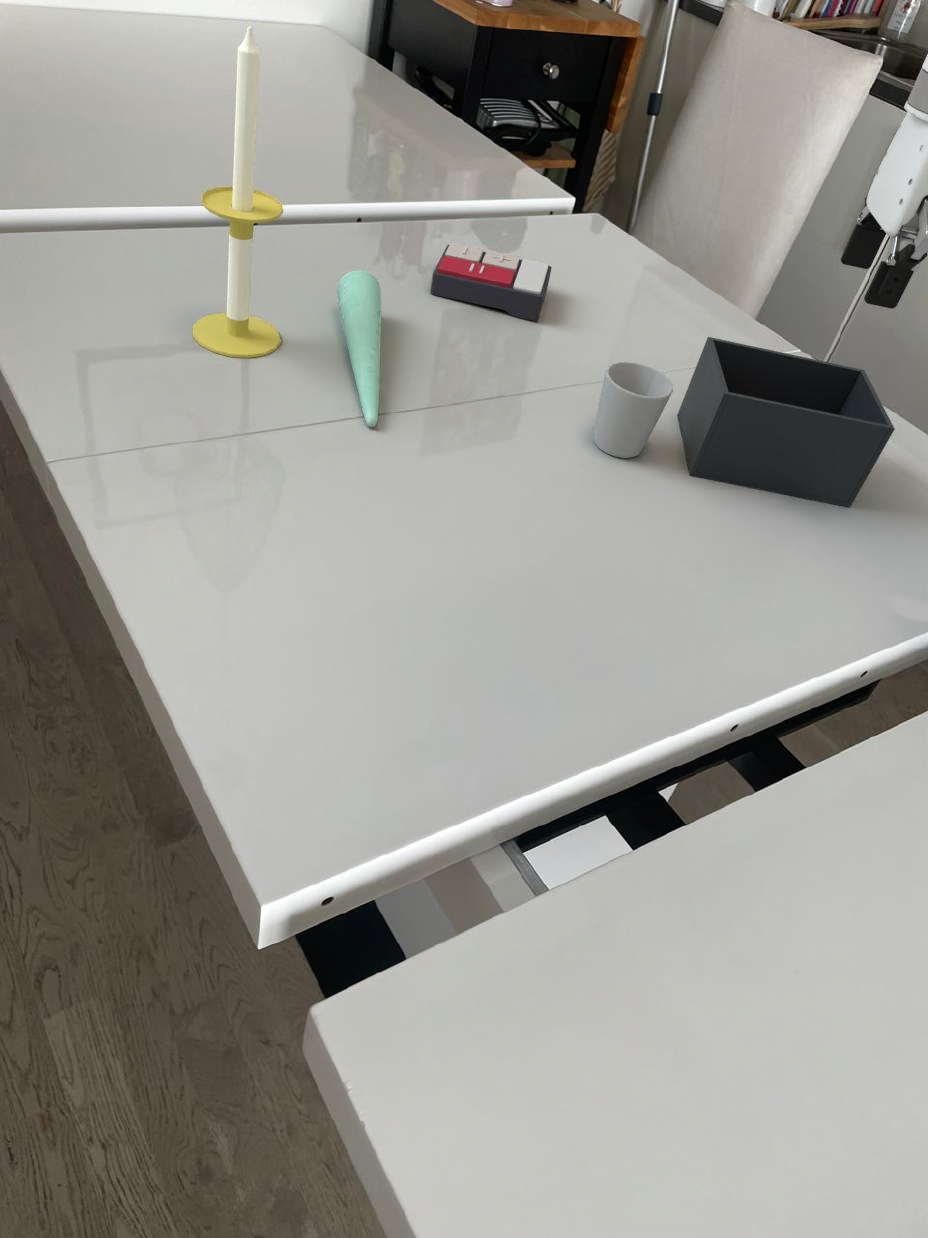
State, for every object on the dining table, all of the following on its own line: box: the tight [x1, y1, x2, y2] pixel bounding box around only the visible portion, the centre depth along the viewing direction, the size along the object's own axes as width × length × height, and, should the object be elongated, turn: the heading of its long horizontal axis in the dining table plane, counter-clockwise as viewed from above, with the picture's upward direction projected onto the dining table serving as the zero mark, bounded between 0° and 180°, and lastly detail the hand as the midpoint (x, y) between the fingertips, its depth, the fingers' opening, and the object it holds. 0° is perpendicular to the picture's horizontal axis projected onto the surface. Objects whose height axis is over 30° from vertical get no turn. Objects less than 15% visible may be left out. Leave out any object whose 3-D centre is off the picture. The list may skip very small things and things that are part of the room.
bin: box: [676, 336, 896, 508], centre depth 113 cm, size 19×13×11 cm
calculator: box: [430, 241, 552, 322], centre depth 135 cm, size 11×4×15 cm
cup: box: [592, 361, 674, 459], centre depth 111 cm, size 8×10×8 cm
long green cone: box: [336, 269, 382, 428], centre depth 113 cm, size 5×6×27 cm
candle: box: [192, 19, 284, 359], centre depth 103 cm, size 10×10×32 cm
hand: (866, 284), depth 99 cm, fingers open, 9 cm apart
